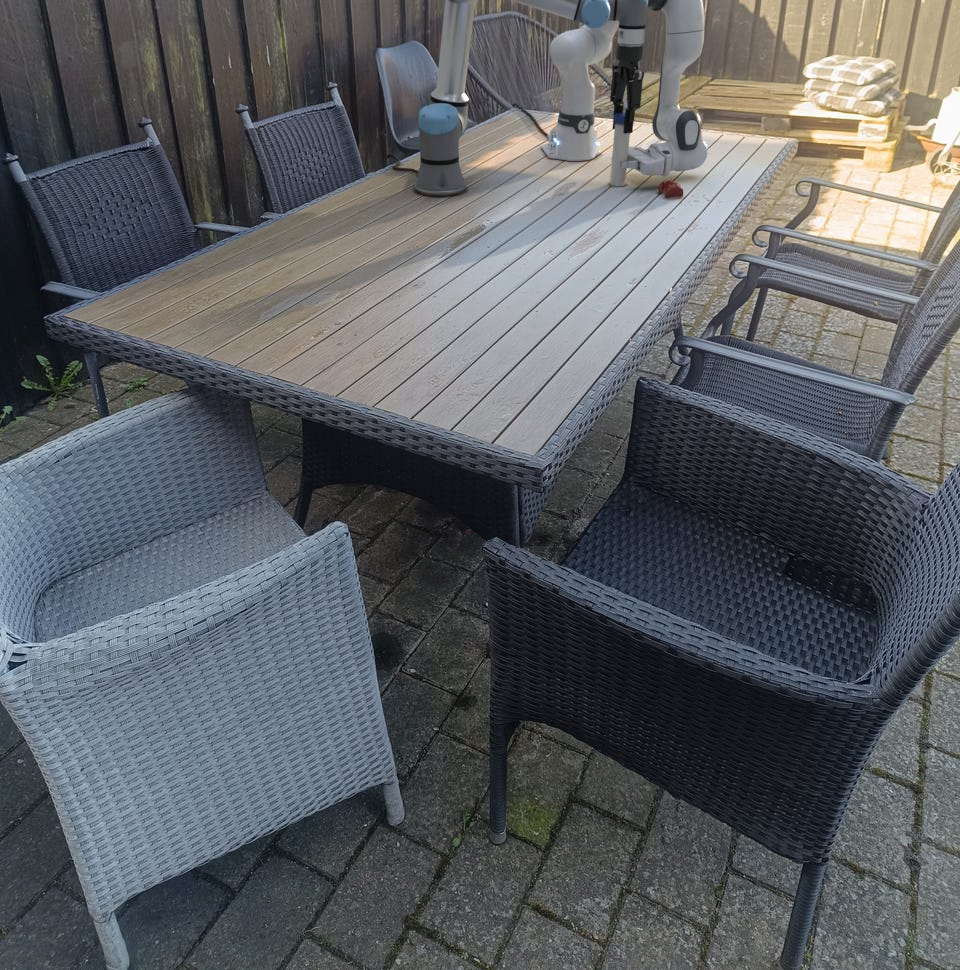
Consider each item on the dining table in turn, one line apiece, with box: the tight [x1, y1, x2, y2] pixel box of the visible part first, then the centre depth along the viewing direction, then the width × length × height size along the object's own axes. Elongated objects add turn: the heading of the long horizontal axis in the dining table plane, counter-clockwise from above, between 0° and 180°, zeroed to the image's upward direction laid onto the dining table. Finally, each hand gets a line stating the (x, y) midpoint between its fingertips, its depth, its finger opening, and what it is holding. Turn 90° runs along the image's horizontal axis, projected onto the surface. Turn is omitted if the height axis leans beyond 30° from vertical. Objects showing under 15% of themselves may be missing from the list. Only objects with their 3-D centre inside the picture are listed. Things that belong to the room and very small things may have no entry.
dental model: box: [657, 179, 684, 199], centre depth 253 cm, size 6×4×8 cm
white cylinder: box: [609, 123, 631, 187], centre depth 257 cm, size 5×5×20 cm
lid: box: [613, 111, 625, 124], centre depth 252 cm, size 6×6×2 cm
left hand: (622, 130), depth 254 cm, fingers closed on lid, 5 cm apart
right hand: (616, 162), depth 259 cm, fingers closed on white cylinder, 5 cm apart
